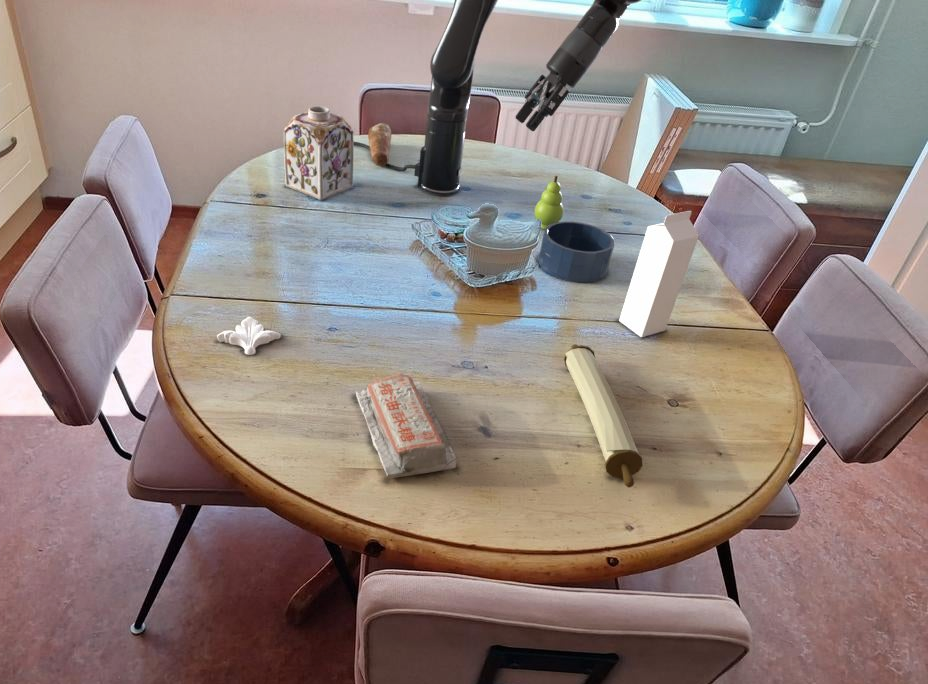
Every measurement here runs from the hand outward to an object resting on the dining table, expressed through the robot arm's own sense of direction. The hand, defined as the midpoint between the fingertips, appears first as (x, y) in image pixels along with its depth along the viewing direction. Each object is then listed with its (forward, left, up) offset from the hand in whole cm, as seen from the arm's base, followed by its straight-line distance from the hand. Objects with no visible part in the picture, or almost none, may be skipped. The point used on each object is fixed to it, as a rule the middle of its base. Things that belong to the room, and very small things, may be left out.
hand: (523, 124), depth 150 cm
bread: (-41, +12, -20) cm, 48 cm away
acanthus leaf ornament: (-16, -75, -20) cm, 79 cm away
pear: (+10, -2, -20) cm, 22 cm away
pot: (+21, -17, -20) cm, 33 cm away
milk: (+39, -32, -20) cm, 54 cm away
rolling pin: (+39, -63, -20) cm, 76 cm away
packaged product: (+16, -81, -20) cm, 85 cm away
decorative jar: (-42, -16, -20) cm, 49 cm away
